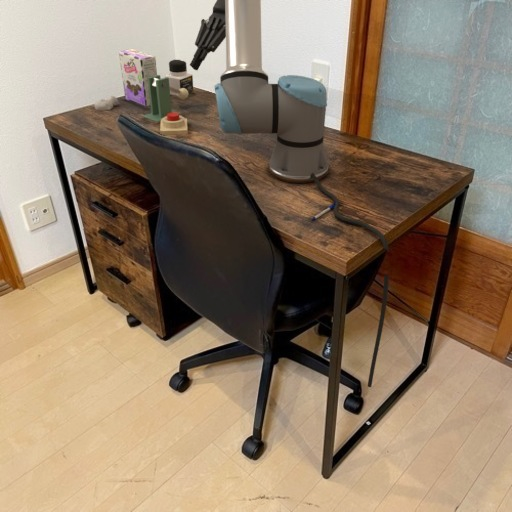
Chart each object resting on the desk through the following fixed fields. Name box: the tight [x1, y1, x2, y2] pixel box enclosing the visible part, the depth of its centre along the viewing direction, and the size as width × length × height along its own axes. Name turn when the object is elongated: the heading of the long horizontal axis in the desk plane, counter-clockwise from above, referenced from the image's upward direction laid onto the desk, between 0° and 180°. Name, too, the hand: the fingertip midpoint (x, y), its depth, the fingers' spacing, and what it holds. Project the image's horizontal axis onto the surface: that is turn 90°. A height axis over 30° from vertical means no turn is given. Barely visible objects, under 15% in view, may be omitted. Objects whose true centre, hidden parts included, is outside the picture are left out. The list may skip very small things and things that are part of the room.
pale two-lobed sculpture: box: [93, 95, 119, 112], centre depth 175 cm, size 4×8×5 cm
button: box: [167, 112, 180, 121], centre depth 158 cm, size 4×4×2 cm
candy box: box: [118, 48, 158, 107], centre depth 178 cm, size 14×6×16 cm, turn 42°
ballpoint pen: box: [311, 201, 341, 221], centre depth 119 cm, size 10×1×1 cm, turn 141°
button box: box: [159, 115, 189, 136], centre depth 159 cm, size 10×8×4 cm
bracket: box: [141, 74, 182, 123], centre depth 166 cm, size 10×8×13 cm
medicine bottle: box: [164, 58, 194, 97], centre depth 187 cm, size 7×7×12 cm
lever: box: [152, 78, 190, 101], centre depth 168 cm, size 14×4×4 cm, turn 138°
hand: (193, 67), depth 172 cm, fingers closed
